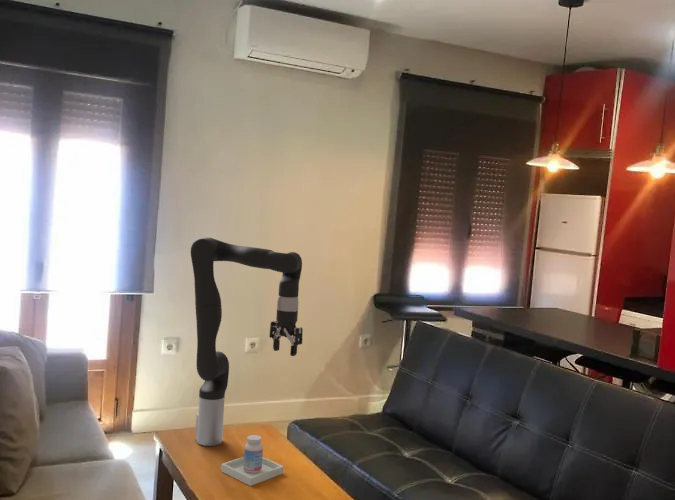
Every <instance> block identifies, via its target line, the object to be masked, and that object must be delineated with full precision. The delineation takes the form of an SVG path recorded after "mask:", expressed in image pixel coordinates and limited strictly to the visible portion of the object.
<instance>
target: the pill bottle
mask: <svg viewBox="0 0 675 500" xmlns="http://www.w3.org/2000/svg"><path fill="white" fill-rule="evenodd" d="M246 438H247V439H246V441H247V442H246V443H245V445H244V452H243V455H244V456H243V457H244V466H243V469H244V471H246V472H248V473H258V472H260V471H261V469H262V457H263V455H264V454H263V450H264V446H263V444H262V437H261V436H260V435H258V434H257V435H256V434H250V435H248V436H247V437H246Z"/></svg>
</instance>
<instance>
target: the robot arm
mask: <svg viewBox="0 0 675 500" xmlns="http://www.w3.org/2000/svg"><path fill="white" fill-rule="evenodd" d="M190 257H191V263H192V264H191V265H192V270H193V271H192V272H193V278H194V299H195V300H194V303H195V318H196V335H197V337H196V338H197V339H196V340H197V342H196V343H197V344H196V346H197V347H196V371H197V374H198V376H199V378H200V379H201V380H203V381H204V382H203V384H202V385H201V387H199V392H198V393H199V394H198V411H197V414H196V416H195V417H196V419H195V435H194V436H195V441H196V443H197V444H199V445H201V446H204V447H206V446H207V447H213V446H214V447H215V446H219V445H221V444H222V443H223V436H224V435H223V434H224V432H223V431H224V418H225V417H224V415H225V414H224V412H225V395H226V391H227V388H228V384H229V373H230V362H229V359H228V357H227V355H226V354H225V353H224V352H221V351H218V350H216V349H217V348H216V347H217V345H216V343H217V337H218V333H219V331H220V326H221V322H222V315H223V310H222V299H221V294H220V291H219V288H218V285H217V283H216V281H215V280H216V279H215V274H214V273H215V271H214V262H231V263H237V264H239V265H243V266H244V265H245V266H247V267H251V268H258V269H264V270H271V271H275V272H278V273H282V276H281V279H280V281H279V284H278V296H277V297H278V298H277V303H276V317H275V318H276V319H275V321H273V320H272V321H271V322H270V326H269V338H272V340H273V344H272V346H273V347H272V348H273V351H275V352H278V351H280V346H281V345H280V342H281V337H284V338H287V340H288V341H289V343H290V356H291V357H295V356H296V355H297V354H298V346H299V345H303V327H297V325H296V324H297V322H298V315H299V290H300V289H299V286H300V280H301V275H302V271H303V270H302V269H303V259H302V257H301V255H300V254H299V253H298V252H294V251H291V252H287V253H286V252H277V251H274V250H271V249H267V248H262V247H251V246H243V245H237V244H231V243H228V242H224V241H222V240H218V239H216V238H213V237H200V238H197V239H196V240H194V241H193V242H192V244H191V247H190Z"/></svg>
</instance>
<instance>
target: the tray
mask: <svg viewBox="0 0 675 500" xmlns="http://www.w3.org/2000/svg"><path fill="white" fill-rule="evenodd" d="M220 466H221V467H220V472H222V473H224V474H226V475H227V476H230V477H232V478H233V479H236V480H238V481H240V482H242V483H244V484H246V485H248V486H250V487H251V486H254V485H257V484H259V483H262V482H264V481H268V480H270V479H272V478H276V477H277V476H280V475H283V474H284V467H285V466H283V465H282V464H280V463H277V462H275V461H272V460H271V459H269V458H266V457H263V456H262V469H261V471H260V472H258V473H248V472H246V471H244V469H243V466H244V456H241V457H238V458H235V459H233V460H229V461H227V462H223V463H221V465H220Z"/></svg>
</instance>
